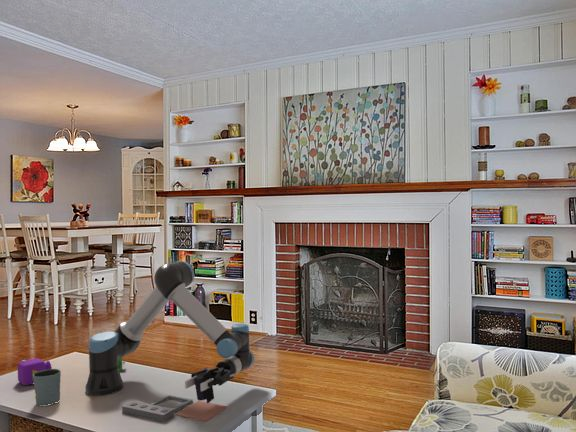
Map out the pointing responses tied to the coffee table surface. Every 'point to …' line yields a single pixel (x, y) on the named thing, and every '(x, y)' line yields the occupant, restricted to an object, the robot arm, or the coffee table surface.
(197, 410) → the mat
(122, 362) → the geometric puzzle
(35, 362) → the toy camera
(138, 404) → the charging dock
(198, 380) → the speaker
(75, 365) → the coffee table surface
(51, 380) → the grey-green cup
